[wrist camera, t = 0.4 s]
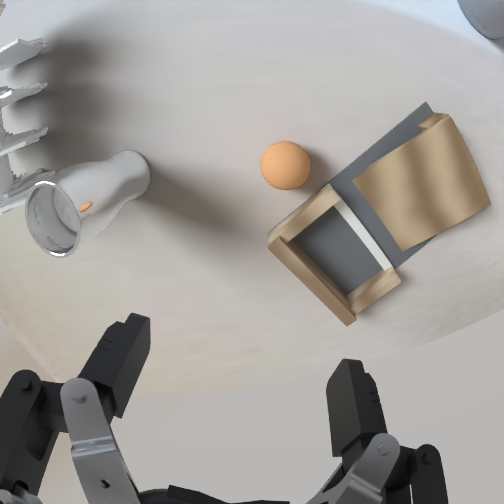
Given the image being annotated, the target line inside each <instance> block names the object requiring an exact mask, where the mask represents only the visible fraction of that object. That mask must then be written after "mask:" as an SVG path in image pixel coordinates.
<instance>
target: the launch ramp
mask: <svg viewBox="0 0 504 504" xmlns="http://www.w3.org/2000/svg"><path fill="white" fill-rule="evenodd" d="M417 127H418V128H419V130H420V131H421V133H420V134H418V135H417V136H415V137H414V138H412V139H411V140H409V141H407V142H406V143H404V144H403V145H401V146H399V147H398V148H396V149H395V150H393V151H392V152H390V153H388V154H387V155H385V156H384V157H382V158H381V159H379V160H377V161H376V162H374V163H373V164H371V165H370V166H369V167H367V168H366V169H365V170H364V171H363V172H361V173H360V174H359V175H358V176H357V177H355V178H354V179H353V180H352V182H353V183H354V184H355V186H356V187H357V188H358V189H359V191H360V192H361V193H362V195H363V196H364V197H365V199H366V200H367V201H368V203H369V204H370V205H371V207H372V208H373V210H374V211H375V212H376V214H377V215H378V216H379V218H380V219H381V221H382V222H383V224H384V225H385V226H386V228H387V229H388V231H389V232H390V234H391V235H392V237H393V238H394V240H395V241H396V243H397V244H398V246H399V247H400V249H401V250H402V252H403V251H405V250H407V249H409V248H411V247H413V246H415V245H417V244H419V243H421V242H423V241H425V240H427V239H429V238H431V237H432V236H434V235H436V234H438V233H440V232H442V231H444V230H446V229H448V228H450V227H452V226H453V225H455V224H457V223H459V222H461V221H463V220H464V219H466V218H468V217H470V216H472V215H474V214H475V213H477V212H479V211H481V210H482V209H484V208H486V207H488V206H489V205H491V203H490V200H489V197H488V194H487V192H486V189H485V187H484V184H483V182H482V179H481V177H480V174H479V172H478V170H477V167H476V165H475V163H474V161H473V158H472V156H471V154H470V152H469V150H468V148H467V146H466V144H465V142H464V140H463V138H462V136H461V134H460V132H459V130H458V129H457V127H456V125H455V123H454V121H453V119H452V118H451V117H450V116H449V115H448V114H442V113H432V114H431V115H429V116H428V117H427V118H426V119H425V120H424V121H422V122H421V123H420V124H419V125H418V126H417Z"/></svg>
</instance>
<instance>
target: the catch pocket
mask: <svg viewBox="0 0 504 504" xmlns="http://www.w3.org/2000/svg"><path fill="white" fill-rule="evenodd" d="M339 200H340V198H339V197H338V195H337V194H336V193H335V191H334V190H333V189H332V188H331V187H330V185H328V186H327V187H326V188H325V189H323V190H322V191H321V190H320V191H319V192H317V193H316V194H315V195H314V196H313V197H311V198H310V199H309V200H308V201H307V202H305V203H304V204H303V205H302V206H301V207H299V208H298V209H297V210H296V211H295V212H293V213H292V214H291V215H290V216H289V217H287V218H286V219H285V220H284V221H283V222H281V223H280V224H279V225H278V226H277V227H275V228H274V229H273V230H272V231H271V232H270V233H269V237H268V249H269V250H270V251H271V252H272V253H273V254H274V255H275V256H276V257H277V258H278V259H279V260H280V261H281V262H282V263H283V264H284V265H285V266H286V267H287V268H288V269H289V270H290V271H291V272H292V273H293V274H294V275H295V276H296V277H297V278H299V279H300V280H301V281H302V282H303V283H304V284H305V285H306V286H307V287H308V288H309V289H310V290H311V291H312V292H313V293H314V294H315V295H316V296H317V297H318V298H319V299H320V300H321V301H322V302H323V303H324V304H325V305H326V306H327V307H328V308H329V309H330V310H331V311H332V312H333V313H334V314H335V315H336V316H337V317H338V318H339V319H340V320H341V321H342V322H343V323H344V324H345V325H346V326H348V325H350V324H352V323H353V322H355V321H356V320H357V318H356V314H357V313H359V312H360V311H362V310H363V309H365V308H366V307H368V306H369V305H370V304H372V303H373V302H375V301H376V300H378V299H379V298H380V297H382V296H383V295H385V294H386V293H387V292H389V291H390V290H391V289H393V288H394V287H395V286H397V285H398V284H399V283H401V282H402V281H401V280H400V278H399V277H398V275H397V274H396V272H395V271H394V269H393V268H392V266H391V267H389V268H388V269H387V270H385V271H384V269H382V270H381V271H380V272H378V273H377V274H376V275H374V276H373V277H372V278H370V279H369V280H368V281H366V282H365V283H364V284H362V285H361V286H359V287H358V288H357V289H355V290H354V291H352V292H351V293H350V294H348V295H347V296H346V295H345V294H344V293H343V292H342V291H341V290H340V289H339V288H338V287H337V286H336V285H335V283H334V282H333V281H332V280H331V279H330V278H329V277H328V276H327V275H326V274H325V273H324V272H323V271H322V269H321V268H320V267H319V266H318V265H317V264H316V263H315V262H314V261H313V260H312V259H311V258H310V257H309V256H308V255H307V254H306V252H305V251H304V250H303V249H302V248H301V247H300V246H299V245H298V244H297V243H296V242H295V241H294V240H293V239H292V238H294V237H295V236H296V235H297V234H298V233H300V232H301V231H302V230H303V229H305V228H306V227H307V226H308V225H310V224H311V223H312V222H313V221H314V220H316V219H317V218H318V217H319V216H321V215H322V214H323V213H324V212H326V211H327V210H328V209H329V208H330V207H332V206H333V205H334V204H335V203H337V202H338V201H339Z"/></svg>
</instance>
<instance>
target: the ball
mask: <svg viewBox="0 0 504 504" xmlns="http://www.w3.org/2000/svg"><path fill="white" fill-rule="evenodd" d="M260 165H261V172H262V175H263V177H264V179H265V180H266V181H267V182H268V183H269V184H270V185H271V186H273V187H275V188H277V189H280V190H292V189H295V188H297V187H299V186H301V185H302V184H303V183H304V182H305V181H306V179H307V178H308V176H309V173H310V168H311V164H310V159H309V156H308V154H307V153H306V151H305V150H304V149H303V148H302V147H301V146H299V145H298V144H296V143H293V142H290V141H280V142H277V143H274V144H272V145H271V146H270V147H268V148H267V149H266V151H265V152H264V154H263V156H262V158H261V164H260Z"/></svg>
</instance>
